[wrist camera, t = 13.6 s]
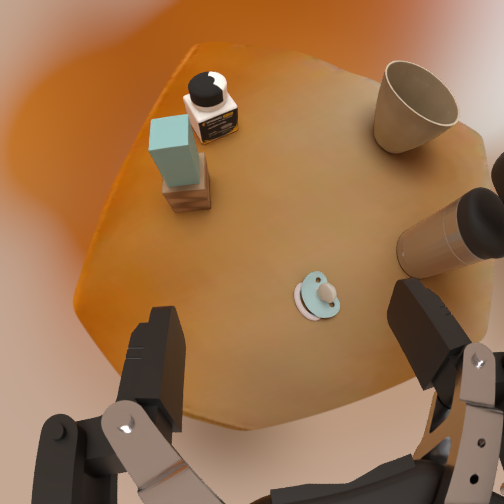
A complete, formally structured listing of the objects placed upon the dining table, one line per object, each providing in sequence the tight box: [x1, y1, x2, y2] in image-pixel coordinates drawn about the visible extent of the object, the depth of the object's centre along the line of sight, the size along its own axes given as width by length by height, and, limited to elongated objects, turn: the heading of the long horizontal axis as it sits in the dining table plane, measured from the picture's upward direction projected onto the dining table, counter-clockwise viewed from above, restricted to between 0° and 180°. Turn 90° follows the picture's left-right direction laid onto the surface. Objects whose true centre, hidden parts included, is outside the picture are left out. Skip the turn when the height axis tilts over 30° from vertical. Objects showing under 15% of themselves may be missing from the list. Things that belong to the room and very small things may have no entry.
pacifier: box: [294, 271, 340, 321], centre depth 42 cm, size 7×6×6 cm
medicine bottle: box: [183, 72, 238, 144], centre depth 45 cm, size 7×7×12 cm
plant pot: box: [374, 61, 460, 154], centre depth 44 cm, size 15×15×16 cm
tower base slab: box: [169, 169, 211, 212], centre depth 46 cm, size 6×6×4 cm
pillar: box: [149, 114, 200, 187], centre depth 35 cm, size 4×4×10 cm
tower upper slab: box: [162, 153, 208, 203], centre depth 42 cm, size 6×6×4 cm
